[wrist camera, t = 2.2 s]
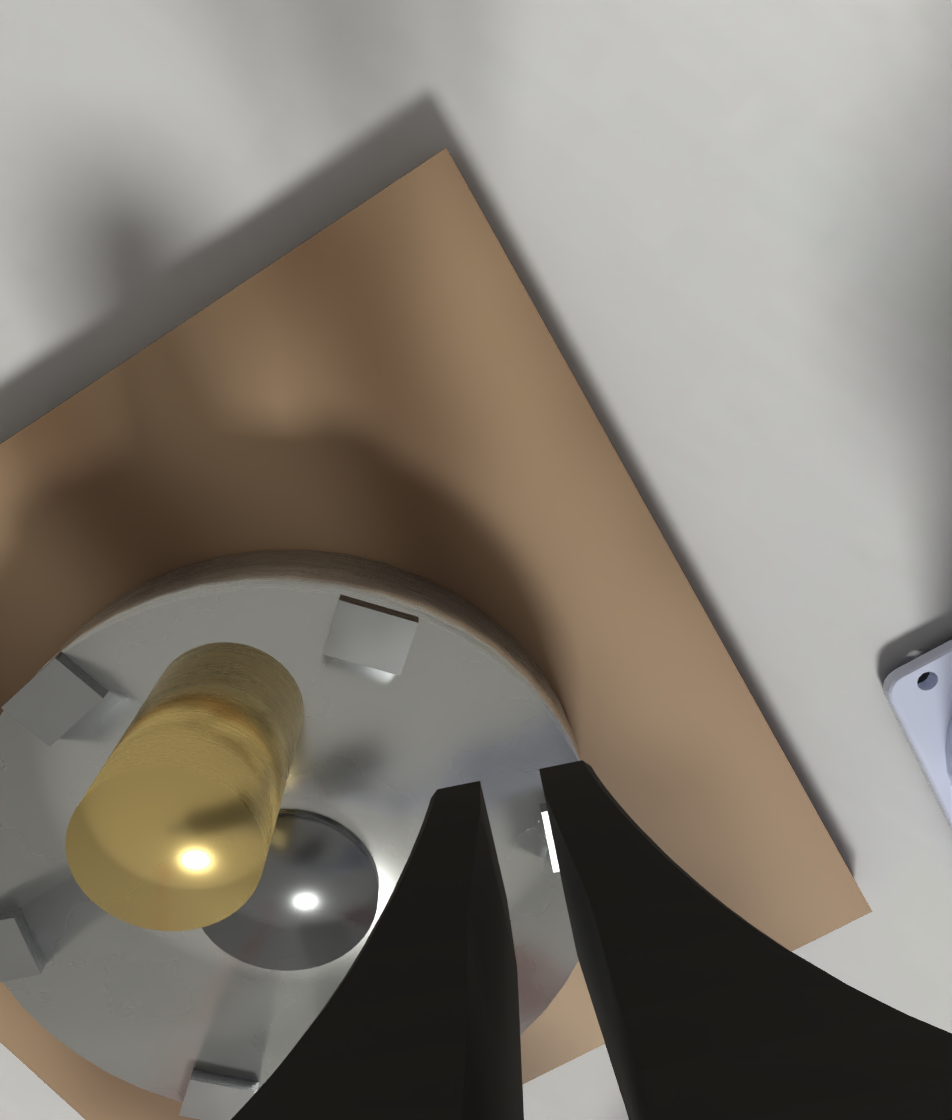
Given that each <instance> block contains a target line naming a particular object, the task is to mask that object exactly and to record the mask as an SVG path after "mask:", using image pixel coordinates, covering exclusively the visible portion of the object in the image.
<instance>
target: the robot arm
mask: <svg viewBox="0 0 952 1120" xmlns="http://www.w3.org/2000/svg"><path fill="white" fill-rule="evenodd" d="M925 672H929V675H928V678H927V679H926V680H924V681H923V682H921V683H917V681H918V679H919V677H920V676H921V675H922V674H923V673H925ZM883 690H884V694H885V696H886V698H887V700H888V702H889V704H890V706H891V708H892V710H893V712H894V714H895V716H896V719H897V721H898V723H899V725H900V727H901V729H902V731H903V733H904V735H905V737H906V739H907V741H908V743H909V745H910V747H911V749H912V751H913V753H914V755H915V757H916V759H917V761H918V763H919V765H920V767H921V769H922V771H923V773H924V775H925V777H926V779H927V781H928V783H929V785H930V787H931V789H932V791H933V793H934V795H935V797H936V800H937V802H938V804H939V806H940V808H941V810H942V812H943V814H944V816H945V818H946V820H947V822H948V824H949V826H950V828H951V830H952V639H951V640H949V641H948V642H946V643H944V644H942V645H940V646H938V647H936V648H934V649H932V650H931V651H929V652H927V653H925V654H923V655H921V656H919V657H917V658H916V659H914V660H912V661H910V662H908V663H906V664H904V665H902V666H901V667H899V668H897V669H895V670H894V671H892V672H891V673H890V674H888V676H887V677H886V679H885V680H884V685H883ZM539 772H540V777H541V782H542V787H543V792H544V797H545V802H546V806H547V811H548V816H549V821H550V826H551V831H552V836H553V841H554V846H555V851H556V856H557V861H558V866H559V871H560V876H561V881H562V886H563V891H564V896H565V900H566V905H567V910H568V915H569V919H570V924H571V929H572V933H573V938H574V943H575V948H576V952H577V956H578V960H579V963H580V966H581V969H582V972H583V976H584V979H585V982H586V985H587V988H588V991H589V994H590V998H591V1001H592V1004H593V1007H594V1010H595V1013H596V1016H597V1020H598V1023H599V1026H600V1029H601V1032H602V1035H603V1038H604V1042H605V1045H606V1048H607V1051H608V1054H609V1057H610V1060H611V1063H612V1067H613V1070H614V1073H615V1076H616V1079H617V1082H618V1085H619V1089H620V1092H621V1095H622V1098H623V1101H624V1104H625V1107H626V1110H627V1114H628V1117H629V1120H952V1034H951V1033H949V1032H947V1031H944V1030H942V1029H940V1028H937V1027H935V1026H932V1025H930V1024H928V1023H925V1022H923V1021H921V1020H918V1019H916V1018H914V1017H911V1016H909V1015H907V1014H905V1013H902V1012H900V1011H898V1010H896V1009H894V1008H892V1007H890V1006H888V1005H886V1004H884V1003H882V1002H880V1001H878V1000H876V999H874V998H872V997H870V996H868V995H866V994H864V993H862V992H861V991H859V990H857V989H855V988H853V987H851V986H849V985H847V984H845V983H843V982H842V981H840V980H838V979H837V978H835V977H833V976H832V975H830V974H828V973H827V972H825V971H823V970H821V969H820V968H818V967H816V966H815V965H813V964H811V963H810V962H808V961H806V960H804V959H803V958H801V957H799V956H798V955H796V954H794V953H793V952H791V951H789V950H788V949H786V948H785V947H783V946H782V945H780V944H779V943H777V942H776V941H775V940H773V939H772V938H770V937H769V936H767V935H766V934H764V933H763V932H761V931H760V930H758V929H757V928H755V927H754V926H753V925H751V924H750V923H749V922H747V921H746V920H745V919H743V918H742V917H741V916H739V915H738V914H737V913H735V912H734V911H732V910H731V909H730V908H728V907H727V906H726V905H725V904H723V903H722V902H721V901H720V900H718V899H717V898H716V897H715V896H713V895H712V894H711V893H710V892H709V891H707V890H706V889H705V888H704V887H703V886H701V885H700V884H699V883H698V882H697V881H696V880H694V879H693V878H692V877H691V876H690V875H689V874H688V873H687V872H685V871H684V870H683V869H682V868H681V867H680V866H679V865H678V864H676V863H675V862H674V861H673V860H672V859H671V858H670V857H669V856H668V855H667V854H666V853H665V852H664V851H663V850H662V849H661V848H660V847H659V846H658V845H657V844H656V843H655V842H654V841H653V840H652V839H651V838H650V837H649V836H648V835H647V834H646V833H645V832H644V831H643V830H642V829H641V828H640V827H639V826H638V825H637V824H636V823H635V821H634V820H633V819H632V818H631V817H630V816H629V815H628V814H627V813H626V812H625V810H624V809H623V808H622V807H621V806H620V804H619V803H618V802H617V801H616V800H615V799H614V797H613V796H612V795H611V794H610V792H609V791H608V790H607V789H606V787H605V786H604V785H603V783H602V782H601V780H600V779H599V778H598V776H597V775H596V773H595V772H594V770H593V768H592V766H590V765H589V764H587V763H586V762H584V761H583V760H581V761H576V762H571V763H566V764H561V765H556V766H551V767H546V768H541V769H539ZM231 1120H524V1114H523V1089H522V1065H521V1040H520V1016H519V993H518V972H517V962H516V955H515V948H514V941H513V935H512V928H511V921H510V915H509V908H508V901H507V896H506V892H505V887H504V883H503V879H502V874H501V870H500V865H499V861H498V857H497V852H496V848H495V844H494V839H493V835H492V831H491V826H490V822H489V818H488V813H487V809H486V804H485V800H484V796H483V791H482V787H481V783H480V781H476V782H471V783H466V784H461V785H456V786H451V787H446V788H441V789H437V790H436V792H435V793H434V794H433V796H432V797H431V799H430V803H429V806H428V809H427V812H426V815H425V818H424V820H423V823H422V826H421V828H420V831H419V834H418V836H417V839H416V841H415V843H414V846H413V848H412V851H411V853H410V855H409V858H408V860H407V862H406V864H405V866H404V868H403V871H402V873H401V875H400V877H399V879H398V881H397V883H396V886H395V888H394V890H393V892H392V894H391V896H390V898H389V900H388V902H387V904H386V906H385V908H384V909H383V911H382V913H381V915H380V917H379V919H378V920H377V922H376V924H375V926H374V928H373V930H372V931H371V933H370V935H369V937H368V939H367V941H366V942H365V944H364V946H363V948H362V949H361V951H360V953H359V954H358V956H357V958H356V959H355V961H354V962H353V964H352V966H351V967H350V969H349V970H348V972H347V974H346V975H345V977H344V978H343V980H342V981H341V983H340V984H339V986H338V987H337V989H336V990H335V992H334V993H333V995H332V996H331V998H330V999H329V1001H328V1002H327V1004H326V1005H325V1006H324V1008H323V1009H322V1011H321V1012H320V1013H319V1015H318V1016H317V1017H316V1019H315V1020H314V1021H313V1023H312V1024H311V1025H310V1027H309V1028H308V1029H307V1031H306V1032H305V1033H304V1035H303V1036H302V1037H301V1039H300V1040H299V1041H298V1043H297V1044H296V1045H295V1047H294V1048H293V1049H292V1050H291V1052H290V1053H289V1054H288V1055H287V1057H286V1058H285V1059H284V1060H283V1062H282V1063H281V1064H280V1065H279V1067H278V1068H277V1069H276V1070H275V1071H274V1073H273V1074H272V1075H271V1076H270V1077H269V1078H268V1079H267V1081H266V1082H265V1083H264V1084H263V1085H262V1086H261V1087H260V1088H259V1090H258V1091H257V1092H256V1093H255V1094H254V1095H253V1096H252V1097H251V1098H250V1100H249V1101H248V1102H247V1103H246V1104H245V1105H244V1106H243V1107H242V1108H241V1109H240V1110H239V1111H238V1112H237V1113H236V1114H235V1116H234V1117H233V1118H232V1119H231Z"/></svg>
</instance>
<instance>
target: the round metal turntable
mask: <svg viewBox="0 0 952 1120" xmlns="http://www.w3.org/2000/svg"><path fill="white" fill-rule="evenodd" d="M1 708H2V709H3V710H4V711H3V712H2V714H1V715H0V982H3V983H4V985H5V986H6V987H7V988H8V990H9V991H10V992H11V993H12V995H13V996H14V997H15V998H16V1000H17V1001H18V1002H19V1003H20V1005H21V1006H22V1007H23V1008H24V1009H25V1010H26V1011H27V1012H28V1013H29V1014H30V1015H31V1016H32V1017H33V1018H34V1019H35V1020H36V1021H37V1022H38V1023H39V1024H40V1025H41V1026H42V1027H44V1028H45V1029H46V1030H47V1031H48V1032H49V1033H50V1034H52V1035H53V1036H54V1037H55V1038H57V1039H58V1040H59V1041H61V1042H62V1043H63V1044H65V1045H66V1046H67V1047H68V1048H70V1049H71V1050H72V1051H74V1052H75V1053H76V1054H78V1055H79V1056H81V1057H83V1058H84V1059H86V1060H88V1061H89V1062H91V1063H93V1064H94V1065H96V1066H98V1067H99V1068H101V1069H103V1070H104V1071H106V1072H108V1073H109V1074H112V1075H114V1076H116V1077H118V1078H120V1079H122V1080H124V1081H127V1082H129V1083H131V1084H133V1085H135V1086H137V1087H139V1088H142V1089H144V1090H147V1091H150V1092H153V1093H155V1094H158V1095H161V1096H164V1097H167V1098H170V1099H173V1100H176V1101H179V1102H183V1103H182V1107H181V1110H180V1113H179V1116H184V1117H189V1118H194V1119H200V1120H231V1119H232V1118H233V1117H234V1116H235V1114H236V1113H237V1112H238V1111H239V1110H240V1109H241V1108H242V1107H243V1106H244V1105H245V1104H246V1103H247V1102H248V1101H249V1100H250V1098H251V1097H252V1096H253V1095H254V1094H255V1093H256V1092H257V1091H258V1090H259V1088H260V1087H261V1086H262V1085H263V1084H264V1083H265V1082H266V1081H267V1079H268V1078H269V1077H270V1076H271V1075H272V1074H273V1073H274V1071H275V1070H276V1069H277V1068H278V1067H279V1065H280V1064H281V1063H282V1062H283V1060H284V1059H285V1058H286V1057H287V1055H288V1054H289V1053H290V1052H291V1050H292V1049H293V1048H294V1047H295V1045H296V1044H297V1043H298V1041H299V1040H300V1039H301V1037H302V1036H303V1035H304V1033H305V1032H306V1031H307V1029H308V1028H309V1027H310V1025H311V1024H312V1023H313V1021H314V1020H315V1019H316V1017H317V1016H318V1015H319V1013H320V1012H321V1011H322V1009H323V1008H324V1006H325V1005H326V1004H327V1002H328V1001H329V999H330V998H331V996H332V995H333V993H334V992H335V990H336V989H337V987H338V986H339V984H340V983H341V981H342V980H343V978H344V977H345V975H346V974H347V972H348V970H349V969H350V967H351V966H352V964H353V962H354V961H355V959H356V958H357V956H358V954H359V953H360V951H361V949H362V948H363V946H364V944H365V942H366V941H367V939H368V937H369V935H370V933H371V931H372V930H373V928H374V926H375V924H376V922H377V920H378V919H379V917H380V915H381V913H382V911H383V909H384V908H385V906H386V904H387V902H388V900H389V898H390V896H391V894H392V892H393V890H394V888H395V886H396V883H397V881H398V879H399V877H400V875H401V873H402V871H403V868H404V866H405V864H406V862H407V860H408V858H409V855H410V853H411V851H412V848H413V846H414V843H415V841H416V839H417V836H418V834H419V831H420V828H421V826H422V823H423V820H424V818H425V815H426V812H427V809H428V806H429V803H430V799H431V797H432V796H433V794H434V793H435V792H436V790H437V789H441V788H446V787H451V786H456V785H461V784H466V783H471V782H476V781H480V783H481V787H482V791H483V796H484V800H485V804H486V809H487V813H488V818H489V822H490V826H491V831H492V835H493V839H494V844H495V848H496V852H497V857H498V861H499V865H500V870H501V874H502V879H503V883H504V887H505V892H506V896H507V901H508V908H509V915H510V921H511V928H512V935H513V941H514V948H515V955H516V962H517V972H518V993H519V1016H520V1035H521V1034H522V1033H523V1032H524V1031H525V1030H526V1029H527V1028H528V1027H529V1026H530V1025H531V1024H532V1023H533V1022H534V1021H535V1020H536V1019H537V1018H538V1017H539V1016H540V1015H541V1014H542V1013H543V1012H544V1011H545V1010H546V1008H547V1007H548V1006H549V1004H550V1003H551V1002H552V1000H553V999H554V998H555V997H556V995H557V994H558V993H559V991H560V990H561V989H562V987H563V986H564V985H565V983H566V981H567V980H568V978H569V976H570V974H571V973H572V971H573V969H574V967H575V965H576V964H577V962H578V956H577V952H576V948H575V943H574V938H573V933H572V929H571V924H570V919H569V915H568V910H567V905H566V900H565V896H564V891H563V886H562V881H561V876H560V871H559V866H558V861H557V856H556V851H555V846H554V841H553V836H552V831H551V826H550V821H549V816H548V811H547V806H546V802H545V797H544V792H543V787H542V782H541V777H540V772H539V769H541V768H546V767H551V766H556V765H561V764H566V763H571V762H576V761H581V757H580V754H579V751H578V748H577V744H576V741H575V738H574V734H573V731H572V729H571V726H570V724H569V722H568V719H567V717H566V715H565V712H564V710H563V708H562V705H561V703H560V701H559V699H558V697H557V695H556V694H555V692H554V690H553V689H552V687H551V686H550V684H549V682H548V681H547V679H546V677H545V676H544V674H543V673H542V671H541V670H540V668H539V667H538V666H537V665H536V664H535V662H534V661H533V660H532V659H531V658H530V656H529V655H528V654H527V653H526V652H525V650H524V649H523V648H522V647H521V646H520V644H519V643H518V642H517V641H516V640H515V639H514V638H512V637H511V636H510V635H509V634H508V633H507V632H506V631H505V630H504V629H503V628H502V627H500V626H499V625H498V624H497V623H496V622H495V621H494V620H493V619H492V618H491V617H489V616H488V615H486V614H485V613H483V612H482V611H480V610H479V609H478V608H476V607H475V606H473V605H472V604H470V603H469V602H467V601H466V600H465V599H463V598H462V597H460V596H459V595H457V594H455V593H453V592H451V591H449V590H447V589H445V588H443V587H441V586H439V585H438V584H436V583H434V582H432V581H430V580H428V579H426V578H424V577H421V576H419V575H416V574H413V573H410V572H408V571H405V570H402V569H400V568H397V567H394V566H391V565H389V564H386V563H382V562H378V561H373V560H369V559H365V558H360V557H356V556H352V555H348V554H341V553H331V552H322V551H313V550H261V551H253V552H246V553H239V554H232V555H225V556H220V557H216V558H212V559H209V560H205V561H201V562H198V563H194V564H190V565H187V566H183V567H180V568H178V569H175V570H173V571H171V572H168V573H166V574H163V575H161V576H159V577H156V578H154V579H152V580H149V581H147V582H145V583H143V584H141V585H140V586H138V587H136V588H134V589H133V590H131V591H129V592H128V593H126V594H124V595H123V596H121V597H119V598H117V599H116V600H114V601H112V602H111V603H110V604H108V605H107V606H106V607H105V608H103V609H102V610H101V611H100V612H98V613H97V614H96V615H95V616H93V617H92V618H91V619H90V620H88V621H87V622H86V623H85V624H83V625H82V626H81V627H80V628H79V629H78V630H77V632H76V633H75V634H74V635H73V636H72V637H71V638H70V639H69V640H68V641H67V642H66V643H65V644H64V645H63V646H62V647H61V648H60V649H59V651H58V652H57V653H56V654H55V655H54V656H53V657H52V658H51V659H50V660H49V661H48V662H47V663H46V664H45V665H44V666H43V667H42V669H41V670H40V671H39V672H38V673H37V674H36V675H35V676H34V677H33V678H32V679H31V680H30V681H28V682H27V683H26V684H25V685H24V686H23V687H22V688H21V689H20V690H19V691H18V692H17V693H16V694H14V695H13V696H12V697H11V698H10V699H9V700H8V701H7V702H6V703H5V704H4V705H3V706H2V707H1Z"/></svg>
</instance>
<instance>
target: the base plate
mask: <svg viewBox="0 0 952 1120" xmlns="http://www.w3.org/2000/svg"><path fill="white" fill-rule="evenodd" d="M261 550H313V551H322V552H331V553H341V554H348V555H352V556H356V557H360V558H365V559H369V560H373V561H378V562H382V563H386V564H389V565H391V566H394V567H397V568H400V569H402V570H405V571H408V572H410V573H413V574H416V575H419V576H421V577H424V578H426V579H428V580H430V581H432V582H434V583H436V584H438V585H439V586H441V587H443V588H445V589H447V590H449V591H451V592H453V593H455V594H457V595H459V596H460V597H462V598H463V599H465V600H466V601H467V602H469V603H470V604H472V605H473V606H475V607H476V608H478V609H479V610H480V611H482V612H483V613H485V614H486V615H488V616H489V617H491V618H492V619H493V620H494V621H495V622H496V623H497V624H498V625H499V626H500V627H502V628H503V629H504V630H505V631H506V632H507V633H508V634H509V635H510V636H511V637H512V638H514V639H515V640H516V641H517V642H518V643H519V644H520V646H521V647H522V648H523V649H524V650H525V652H526V653H527V654H528V655H529V656H530V658H531V659H532V660H533V661H534V662H535V664H536V665H537V666H538V667H539V668H540V670H541V671H542V673H543V674H544V676H545V677H546V679H547V681H548V682H549V684H550V686H551V687H552V689H553V690H554V692H555V694H556V695H557V697H558V699H559V701H560V703H561V705H562V708H563V710H564V712H565V715H566V717H567V719H568V722H569V724H570V726H571V729H572V731H573V734H574V738H575V741H576V744H577V748H578V751H579V754H580V757H581V760H583V761H584V762H586V763H587V764H589V765H590V766H592V768H593V770H594V772H595V773H596V775H597V776H598V778H599V779H600V780H601V782H602V783H603V785H604V786H605V787H606V789H607V790H608V791H609V792H610V794H611V795H612V796H613V797H614V799H615V800H616V801H617V802H618V803H619V804H620V806H621V807H622V808H623V809H624V810H625V812H626V813H627V814H628V815H629V816H630V817H631V818H632V819H633V820H634V821H635V823H636V824H637V825H638V826H639V827H640V828H641V829H642V830H643V831H644V832H645V833H646V834H647V835H648V836H649V837H650V838H651V839H652V840H653V841H654V842H655V843H656V844H657V845H658V846H659V847H660V848H661V849H662V850H663V851H664V852H665V853H666V854H667V855H668V856H669V857H670V858H671V859H672V860H673V861H674V862H675V863H676V864H678V865H679V866H680V867H681V868H682V869H683V870H684V871H685V872H687V873H688V874H689V875H690V876H691V877H692V878H693V879H694V880H696V881H697V882H698V883H699V884H700V885H701V886H703V887H704V888H705V889H706V890H707V891H709V892H710V893H711V894H712V895H713V896H715V897H716V898H717V899H718V900H720V901H721V902H722V903H723V904H725V905H726V906H727V907H728V908H730V909H731V910H732V911H734V912H735V913H737V914H738V915H739V916H741V917H742V918H743V919H745V920H746V921H747V922H749V923H750V924H751V925H753V926H754V927H755V928H757V929H758V930H760V931H761V932H763V933H764V934H766V935H767V936H769V937H770V938H772V939H773V940H775V941H776V942H777V943H779V944H780V945H782V946H783V947H785V948H786V949H788V950H789V951H793V950H795V949H797V948H799V947H801V946H803V945H805V944H807V943H809V942H811V941H813V940H816V939H818V938H820V937H822V936H824V935H826V934H828V933H830V932H832V931H834V930H836V929H838V928H840V927H842V926H844V925H846V924H848V923H850V922H852V921H854V920H856V919H858V918H860V917H862V916H864V915H866V914H868V913H870V912H872V910H871V909H870V907H869V905H868V903H867V901H866V900H865V898H864V896H863V894H862V892H861V891H860V889H859V887H858V885H857V884H856V882H855V880H854V878H853V876H852V875H851V873H850V871H849V869H848V867H847V866H846V864H845V862H844V860H843V858H842V857H841V855H840V853H839V851H838V849H837V848H836V846H835V844H834V842H833V840H832V839H831V837H830V835H829V833H828V831H827V830H826V828H825V826H824V824H823V823H822V821H821V819H820V817H819V815H818V814H817V812H816V810H815V808H814V806H813V805H812V803H811V801H810V799H809V797H808V796H807V794H806V792H805V790H804V788H803V787H802V785H801V783H800V781H799V779H798V778H797V776H796V774H795V772H794V770H793V769H792V767H791V765H790V763H789V762H788V760H787V758H786V756H785V754H784V753H783V751H782V749H781V747H780V745H779V744H778V742H777V740H776V738H775V736H774V735H773V733H772V731H771V729H770V727H769V726H768V724H767V722H766V720H765V718H764V717H763V715H762V713H761V711H760V710H759V708H758V706H757V704H756V702H755V701H754V699H753V697H752V695H751V693H750V692H749V690H748V688H747V686H746V684H745V683H744V681H743V679H742V677H741V675H740V674H739V672H738V670H737V668H736V666H735V665H734V663H733V661H732V659H731V657H730V656H729V654H728V652H727V650H726V649H725V647H724V645H723V643H722V641H721V640H720V638H719V636H718V634H717V632H716V631H715V629H714V627H713V625H712V623H711V622H710V620H709V618H708V616H707V614H706V613H705V611H704V609H703V607H702V605H701V604H700V602H699V600H698V598H697V596H696V595H695V593H694V591H693V589H692V588H691V586H690V584H689V582H688V580H687V579H686V577H685V575H684V573H683V571H682V570H681V568H680V566H679V564H678V562H677V561H676V559H675V557H674V555H673V553H672V552H671V550H670V548H669V546H668V544H667V543H666V541H665V539H664V537H663V535H662V534H661V532H660V530H659V528H658V527H657V525H656V523H655V521H654V519H653V518H652V516H651V514H650V512H649V510H648V509H647V507H646V505H645V503H644V501H643V500H642V498H641V496H640V494H639V492H638V491H637V489H636V487H635V485H634V483H633V482H632V480H631V478H630V476H629V475H628V473H627V471H626V469H625V467H624V466H623V464H622V462H621V460H620V458H619V457H618V455H617V453H616V451H615V449H614V448H613V446H612V444H611V442H610V440H609V439H608V437H607V435H606V433H605V431H604V430H603V428H602V426H601V424H600V422H599V421H598V419H597V417H596V415H595V414H594V412H593V410H592V408H591V406H590V405H589V403H588V401H587V399H586V397H585V396H584V394H583V392H582V390H581V388H580V387H579V385H578V383H577V381H576V379H575V378H574V376H573V374H572V372H571V370H570V369H569V367H568V365H567V363H566V361H565V360H564V358H563V356H562V354H561V353H560V351H559V349H558V347H557V345H556V344H555V342H554V340H553V338H552V336H551V335H550V333H549V331H548V329H547V327H546V326H545V324H544V322H543V320H542V318H541V317H540V315H539V313H538V311H537V309H536V308H535V306H534V304H533V302H532V301H531V299H530V297H529V295H528V293H527V292H526V290H525V288H524V286H523V284H522V283H521V281H520V279H519V277H518V275H517V274H516V272H515V270H514V268H513V266H512V265H511V263H510V261H509V259H508V257H507V256H506V254H505V252H504V250H503V248H502V247H501V245H500V243H499V241H498V240H497V238H496V236H495V234H494V232H493V231H492V229H491V227H490V225H489V223H488V222H487V220H486V218H485V216H484V214H483V213H482V211H481V209H480V207H479V205H478V204H477V202H476V200H475V198H474V196H473V195H472V193H471V191H470V189H469V187H468V186H467V184H466V182H465V180H464V179H463V177H462V175H461V173H460V171H459V170H458V168H457V166H456V164H455V162H454V161H453V159H452V157H451V155H450V153H449V152H448V150H447V148H445V149H444V150H442V151H441V152H439V153H438V154H436V155H435V156H433V157H432V158H430V159H429V160H427V161H426V162H424V163H423V164H421V165H420V166H418V167H417V168H415V169H414V170H412V171H411V172H409V173H408V174H406V175H405V176H403V177H401V178H400V179H398V180H397V181H395V182H394V183H392V184H391V185H389V186H388V187H386V188H385V189H383V190H382V191H380V192H379V193H377V194H376V195H374V196H373V197H371V198H370V199H368V200H367V201H365V202H364V203H362V204H361V205H359V206H358V207H356V208H355V209H353V210H352V211H350V212H349V213H347V214H346V215H344V216H343V217H341V218H340V219H338V220H337V221H335V222H334V223H332V224H331V225H329V226H328V227H326V228H325V229H323V230H322V231H320V232H319V233H317V234H316V235H314V236H313V237H311V238H310V239H308V240H307V241H305V242H304V243H302V244H301V245H299V246H298V247H296V248H295V249H293V250H292V251H290V252H289V253H287V254H286V255H284V256H283V257H281V258H280V259H278V260H277V261H275V262H274V263H272V264H271V265H269V266H268V267H266V268H265V269H263V270H262V271H260V272H259V273H257V274H256V275H254V276H253V277H251V278H250V279H248V280H247V281H245V282H244V283H242V284H241V285H239V286H238V287H236V288H235V289H233V290H232V291H230V292H229V293H227V294H226V295H224V296H223V297H221V298H220V299H218V300H217V301H215V302H213V303H212V304H210V305H209V306H207V307H206V308H204V309H203V310H201V311H200V312H198V313H197V314H195V315H194V316H192V317H191V318H189V319H188V320H186V321H185V322H183V323H182V324H180V325H179V326H177V327H176V328H174V329H173V330H171V331H170V332H168V333H167V334H165V335H164V336H162V337H161V338H159V339H158V340H156V341H155V342H153V343H152V344H150V345H149V346H147V347H146V348H144V349H143V350H141V351H140V352H138V353H137V354H135V355H134V356H132V357H131V358H129V359H128V360H126V361H125V362H123V363H122V364H120V365H119V366H117V367H116V368H114V369H113V370H111V371H110V372H108V373H107V374H105V375H104V376H102V377H101V378H99V379H98V380H96V381H95V382H93V383H92V384H90V385H89V386H87V387H86V388H84V389H83V390H81V391H80V392H78V393H77V394H75V395H74V396H72V397H71V398H69V399H68V400H66V401H65V402H63V403H62V404H60V405H59V406H57V407H56V408H54V409H53V410H51V411H50V412H48V413H47V414H45V415H44V416H42V417H41V418H39V419H38V420H36V421H35V422H33V423H32V424H30V425H29V426H27V427H25V428H24V429H22V430H21V431H19V432H18V433H16V434H15V435H13V436H12V437H10V438H9V439H7V440H6V441H4V442H3V443H1V444H0V715H1V714H2V712H3V711H4V710H3V709H2V708H1V707H2V706H3V705H4V704H5V703H6V702H7V701H8V700H9V699H10V698H11V697H12V696H13V695H14V694H16V693H17V692H18V691H19V690H20V689H21V688H22V687H23V686H24V685H25V684H26V683H27V682H28V681H30V680H31V679H32V678H33V677H34V676H35V675H36V674H37V673H38V672H39V671H40V670H41V669H42V667H43V666H44V665H45V664H46V663H47V662H48V661H49V660H50V659H51V658H52V657H53V656H54V655H55V654H56V653H57V652H58V651H59V649H60V648H61V647H62V646H63V645H64V644H65V643H66V642H67V641H68V640H69V639H70V638H71V637H72V636H73V635H74V634H75V633H76V632H77V630H78V629H79V628H80V627H81V626H82V625H83V624H85V623H86V622H87V621H88V620H90V619H91V618H92V617H93V616H95V615H96V614H97V613H98V612H100V611H101V610H102V609H103V608H105V607H106V606H107V605H108V604H110V603H111V602H112V601H114V600H116V599H117V598H119V597H121V596H123V595H124V594H126V593H128V592H129V591H131V590H133V589H134V588H136V587H138V586H140V585H141V584H143V583H145V582H147V581H149V580H152V579H154V578H156V577H159V576H161V575H163V574H166V573H168V572H171V571H173V570H175V569H178V568H180V567H183V566H187V565H190V564H194V563H198V562H201V561H205V560H209V559H212V558H216V557H220V556H225V555H232V554H239V553H246V552H253V551H261ZM520 1040H521V1065H522V1084H524V1083H526V1082H528V1081H530V1080H532V1079H534V1078H536V1077H538V1076H540V1075H542V1074H544V1073H546V1072H548V1071H550V1070H552V1069H554V1068H556V1067H559V1066H561V1065H563V1064H565V1063H567V1062H569V1061H571V1060H573V1059H575V1058H577V1057H579V1056H581V1055H583V1054H585V1053H587V1052H589V1051H591V1050H593V1049H595V1048H597V1047H599V1046H601V1045H603V1044H605V1042H604V1038H603V1035H602V1032H601V1029H600V1026H599V1023H598V1020H597V1016H596V1013H595V1010H594V1007H593V1004H592V1001H591V998H590V994H589V991H588V988H587V985H586V982H585V979H584V976H583V972H582V969H581V966H580V963H579V960H578V962H577V964H576V965H575V967H574V969H573V971H572V973H571V974H570V976H569V978H568V980H567V981H566V983H565V985H564V986H563V987H562V989H561V990H560V991H559V993H558V994H557V995H556V997H555V998H554V999H553V1000H552V1002H551V1003H550V1004H549V1006H548V1007H547V1008H546V1010H545V1011H544V1012H543V1013H542V1014H541V1015H540V1016H539V1017H538V1018H537V1019H536V1020H535V1021H534V1022H533V1023H532V1024H531V1025H530V1026H529V1027H528V1028H527V1029H526V1030H525V1031H524V1032H523V1033H522V1034H521V1035H520ZM0 1042H1V1043H2V1044H3V1045H4V1046H5V1047H6V1048H7V1049H9V1050H10V1051H11V1052H12V1053H13V1054H14V1055H15V1056H16V1057H17V1058H18V1059H19V1060H21V1061H22V1062H23V1063H24V1064H25V1065H26V1066H27V1067H28V1068H29V1069H30V1070H32V1071H33V1072H34V1073H35V1074H36V1075H37V1076H38V1077H39V1078H40V1079H41V1080H43V1081H44V1082H45V1083H46V1084H47V1085H48V1086H49V1087H50V1088H51V1089H52V1090H54V1091H55V1092H56V1093H57V1094H58V1095H59V1096H60V1097H61V1098H62V1099H63V1100H65V1101H66V1102H67V1103H68V1104H69V1105H70V1106H71V1107H72V1108H73V1109H74V1110H76V1111H77V1112H78V1113H79V1114H80V1115H81V1116H82V1117H83V1118H84V1119H85V1120H200V1119H194V1118H189V1117H184V1116H179V1113H180V1110H181V1107H182V1103H183V1102H179V1101H176V1100H173V1099H170V1098H167V1097H164V1096H161V1095H158V1094H155V1093H153V1092H150V1091H147V1090H144V1089H142V1088H139V1087H137V1086H135V1085H133V1084H131V1083H129V1082H127V1081H124V1080H122V1079H120V1078H118V1077H116V1076H114V1075H112V1074H109V1073H108V1072H106V1071H104V1070H103V1069H101V1068H99V1067H98V1066H96V1065H94V1064H93V1063H91V1062H89V1061H88V1060H86V1059H84V1058H83V1057H81V1056H79V1055H78V1054H76V1053H75V1052H74V1051H72V1050H71V1049H70V1048H68V1047H67V1046H66V1045H65V1044H63V1043H62V1042H61V1041H59V1040H58V1039H57V1038H55V1037H54V1036H53V1035H52V1034H50V1033H49V1032H48V1031H47V1030H46V1029H45V1028H44V1027H42V1026H41V1025H40V1024H39V1023H38V1022H37V1021H36V1020H35V1019H34V1018H33V1017H32V1016H31V1015H30V1014H29V1013H28V1012H27V1011H26V1010H25V1009H24V1008H23V1007H22V1006H21V1005H20V1003H19V1002H18V1001H17V1000H16V998H15V997H14V996H13V995H12V993H11V992H10V991H9V990H8V988H7V987H6V986H5V985H4V983H3V982H0Z"/></svg>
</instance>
